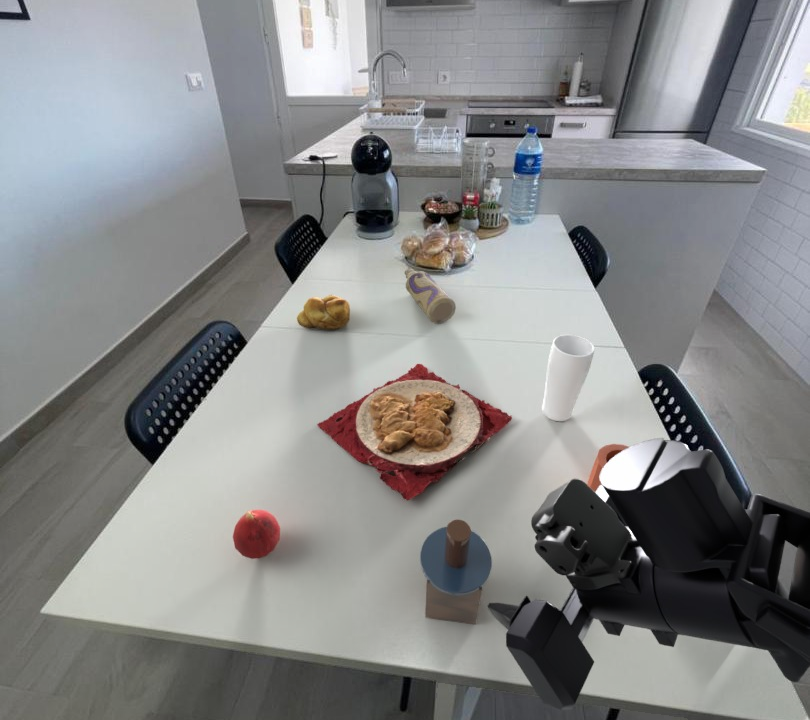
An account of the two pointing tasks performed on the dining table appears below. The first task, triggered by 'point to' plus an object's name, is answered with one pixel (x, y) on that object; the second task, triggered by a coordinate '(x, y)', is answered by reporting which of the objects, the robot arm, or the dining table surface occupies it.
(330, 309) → the bread roll
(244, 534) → the onion
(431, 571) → the lid
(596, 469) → the orange cylindrical container
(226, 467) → the dining table surface
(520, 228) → the dining table surface
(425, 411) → the plate with food
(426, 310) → the decorative bottle
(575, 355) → the drinking glass
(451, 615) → the block
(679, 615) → the robot arm
